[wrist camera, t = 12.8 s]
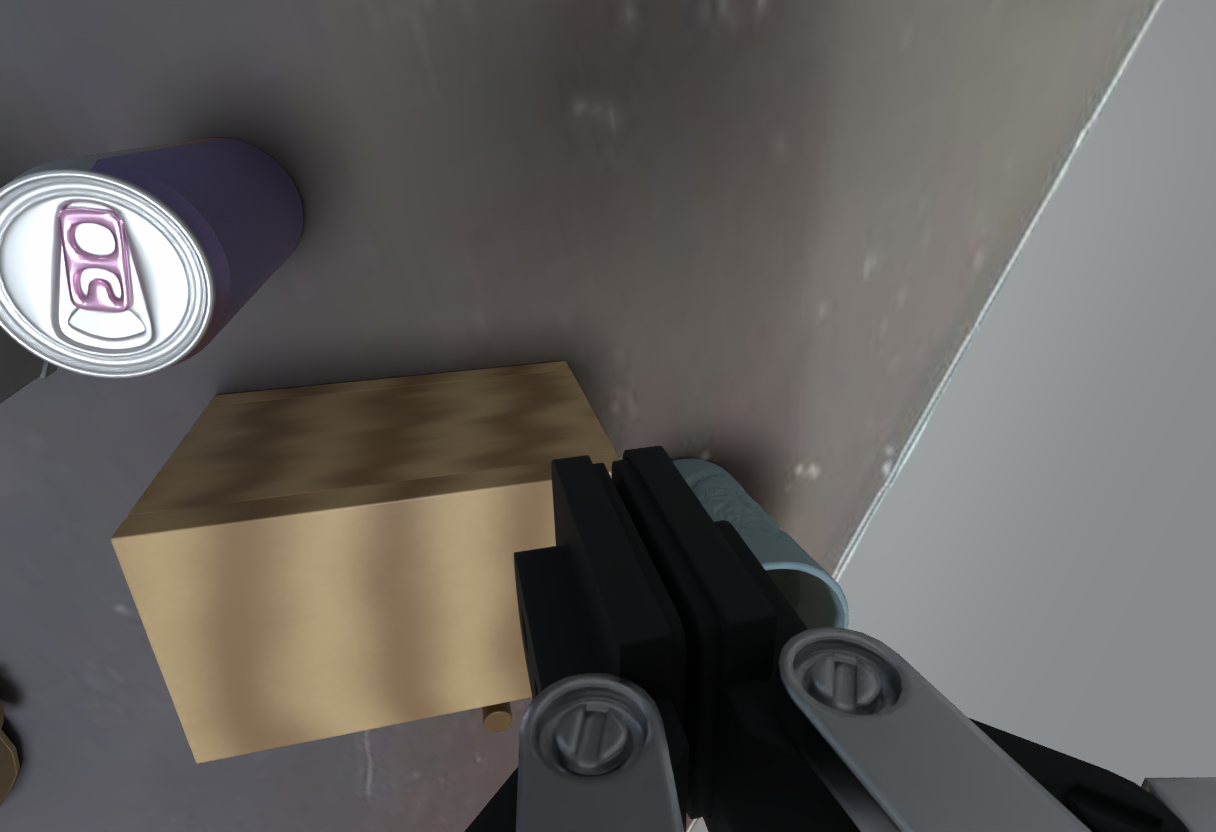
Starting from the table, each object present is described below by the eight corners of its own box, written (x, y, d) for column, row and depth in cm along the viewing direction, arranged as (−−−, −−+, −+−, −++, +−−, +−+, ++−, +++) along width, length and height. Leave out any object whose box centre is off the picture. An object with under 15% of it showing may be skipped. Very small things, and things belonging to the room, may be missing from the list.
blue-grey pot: (752, 437, 43) (858, 545, 33) (749, 566, 48) (842, 698, 37) (596, 464, 41) (655, 589, 31) (608, 596, 46) (662, 745, 35)
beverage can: (305, 148, 31) (214, 180, 18) (306, 278, 33) (226, 391, 20) (155, 126, 30) (-68, 143, 16) (167, 264, 32) (-20, 379, 18)
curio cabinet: (566, 360, 38) (625, 470, 27) (574, 538, 43) (627, 695, 32) (214, 394, 35) (109, 539, 23) (267, 584, 40) (202, 781, 28)
